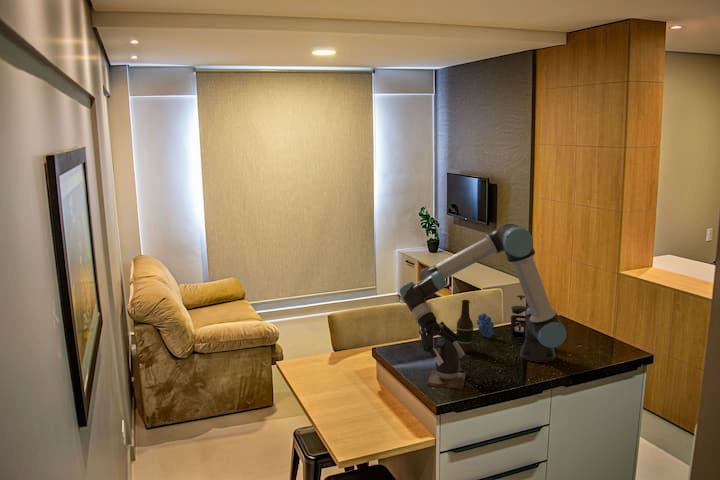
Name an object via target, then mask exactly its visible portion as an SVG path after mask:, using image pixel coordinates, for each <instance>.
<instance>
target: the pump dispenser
mask: <svg viewBox="0 0 720 480" xmlns="http://www.w3.org/2000/svg"><path fill="white" fill-rule="evenodd" d="M434 347H437V349H438V350H437V352H438V354H439V355H440V357H441V358H442V360H443V363H442V364H441V365H440V366H438V364H437V362H436V361H435V363H434V370H436V373H437V375H438V376H439V377H440V378H442V379H444V380H452V379H454V378H456V377H457V376H458V374H459V373H460V371H461V361H460V357H459V355H458V352H457V349H456V347H455V345H454V344H453V343H452V342H450V341H448V340H446V341H444V342H443V343H442V344H438V343H435V345H434Z"/></svg>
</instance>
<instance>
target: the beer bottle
mask: <svg viewBox="0 0 720 480" xmlns="http://www.w3.org/2000/svg"><path fill="white" fill-rule="evenodd" d="M470 303H471V302H470V300H469V299H462V300H461V313H460V317H459V318H458V319H457V322H456V333H455V334H456V335H457V336H458V337H459V338H458V340H457V342H458V343H459V345H460V346H461V349H462V350H463V352H464V353H470V352H472V351H473V348H474V347H473V346H474V345H473V343H474V342H473V341H474V323H473V320H472V319H471V318H470Z"/></svg>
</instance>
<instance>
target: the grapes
mask: <svg viewBox="0 0 720 480" xmlns="http://www.w3.org/2000/svg"><path fill="white" fill-rule="evenodd" d="M476 324H477V326H478V329H477V330H478V331H479V333H481V335H482V337H484V338H488V339H491V338H492V335H494V334H495V330H494V327H495V325H494V323H493V322H492V318H491V317H490V316H489V315H487V314H486V313H484V312H483V313H482V314H479V315H478V316H477V320H476Z"/></svg>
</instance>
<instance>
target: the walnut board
mask: <svg viewBox="0 0 720 480" xmlns="http://www.w3.org/2000/svg"><path fill="white" fill-rule="evenodd" d="M466 374H467V373H466V372H459V374H458V376H457V377H456V378H454V379H452V380H444V379H442V378H440V377H439V376H438V375H437V373H436V370H435V369H434V370H433V369H432V370H431V371H430V375H429V377H428V381H427V386H432V387H442V388H449V389H451V388H452V389H460V390H461V389H462V390H463V389H464V385H465V380H466V376H467V375H466Z"/></svg>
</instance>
